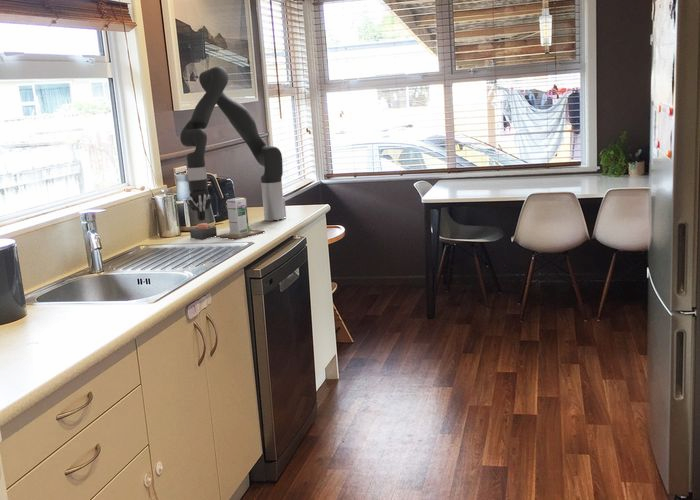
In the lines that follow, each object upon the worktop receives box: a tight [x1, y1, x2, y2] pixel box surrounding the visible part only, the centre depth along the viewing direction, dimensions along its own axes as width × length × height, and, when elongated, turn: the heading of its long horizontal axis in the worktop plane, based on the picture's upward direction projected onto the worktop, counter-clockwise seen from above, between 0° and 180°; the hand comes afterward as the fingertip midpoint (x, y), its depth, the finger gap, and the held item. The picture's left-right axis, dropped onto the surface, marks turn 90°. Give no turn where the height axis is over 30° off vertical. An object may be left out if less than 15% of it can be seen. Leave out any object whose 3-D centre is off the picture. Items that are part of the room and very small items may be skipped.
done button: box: [196, 222, 209, 229], centre depth 316 cm, size 4×4×3 cm
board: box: [215, 228, 266, 241], centre depth 317 cm, size 16×12×1 cm
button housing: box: [189, 225, 218, 241], centre depth 317 cm, size 8×8×4 cm
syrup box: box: [226, 197, 250, 235], centre depth 315 cm, size 6×6×14 cm
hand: (201, 220), depth 316 cm, fingers closed
